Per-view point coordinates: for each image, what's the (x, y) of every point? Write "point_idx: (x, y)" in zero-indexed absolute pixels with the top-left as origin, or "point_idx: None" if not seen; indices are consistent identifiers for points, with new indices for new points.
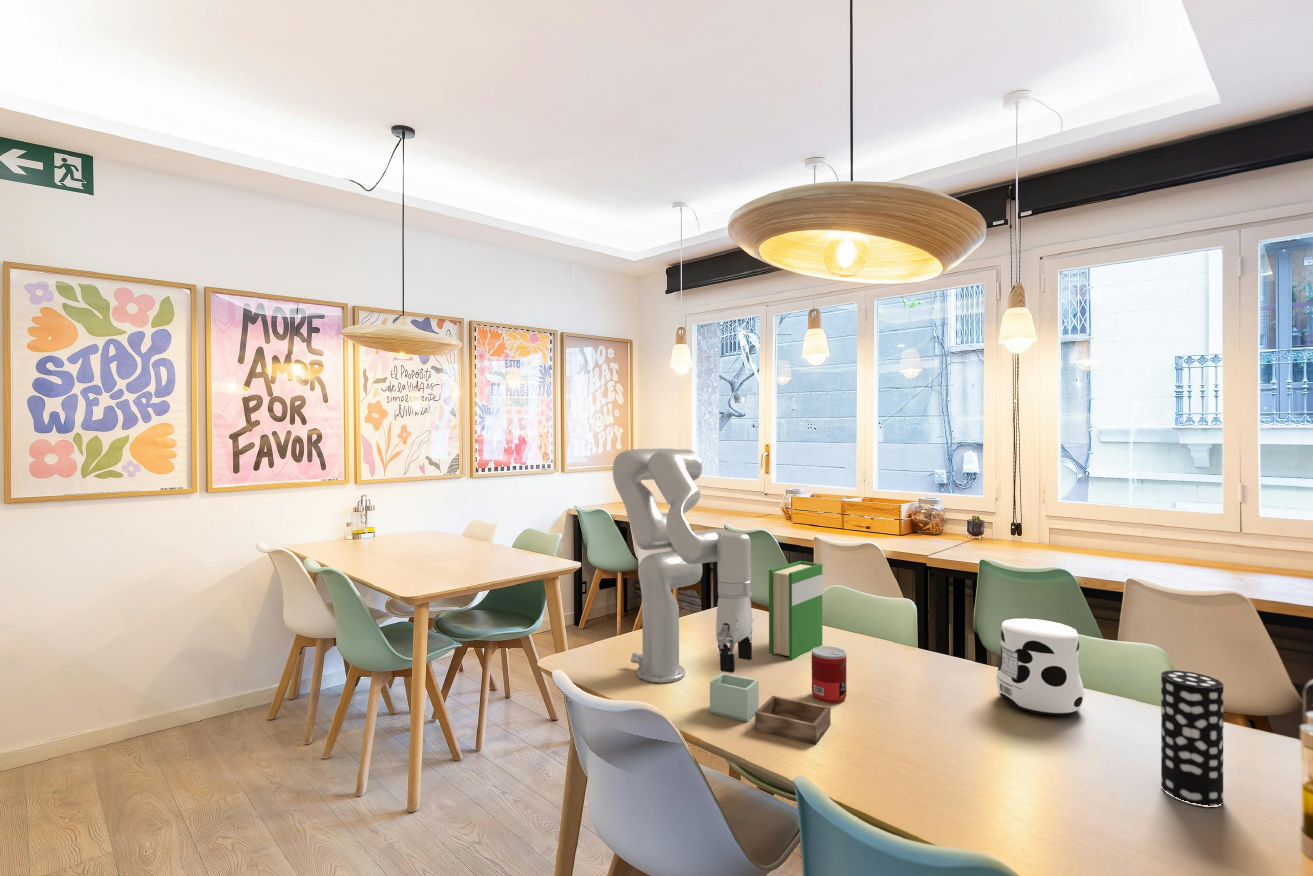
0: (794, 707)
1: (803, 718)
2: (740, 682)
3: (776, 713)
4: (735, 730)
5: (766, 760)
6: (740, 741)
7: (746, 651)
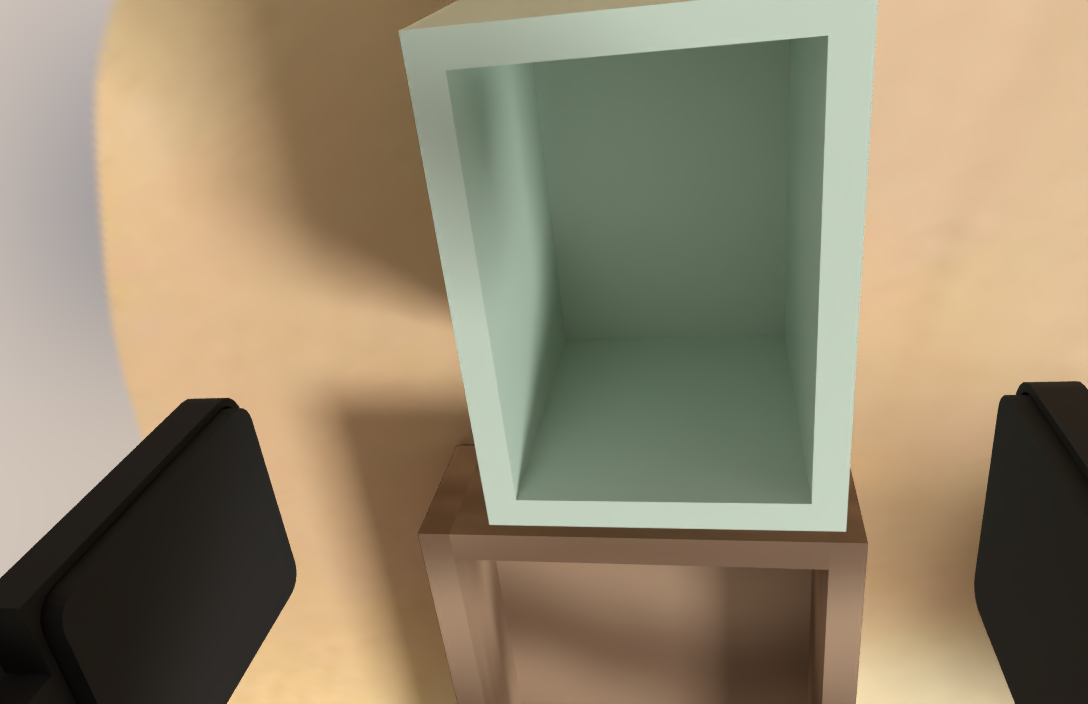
0: (815, 664)
1: (783, 672)
2: (811, 294)
3: None
4: (366, 331)
5: None
6: (255, 422)
7: (1030, 655)
